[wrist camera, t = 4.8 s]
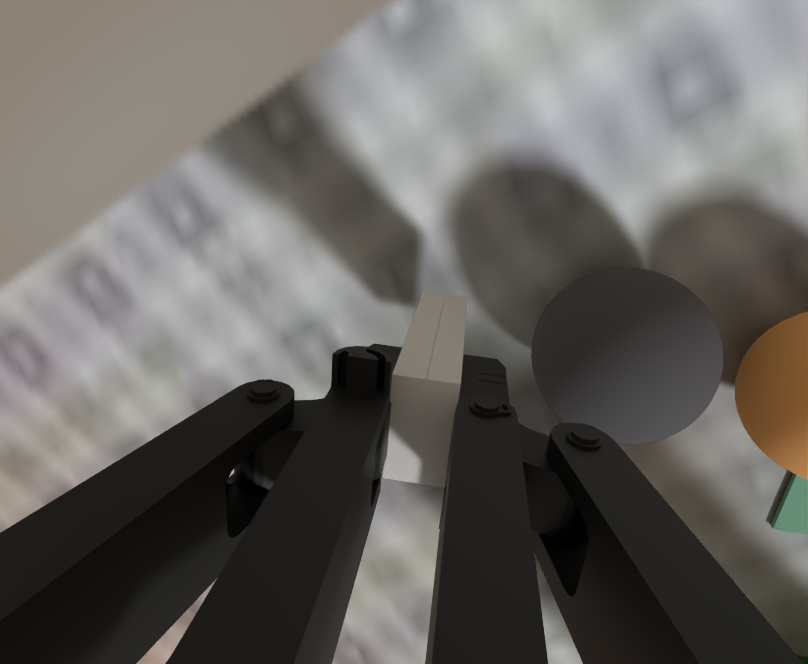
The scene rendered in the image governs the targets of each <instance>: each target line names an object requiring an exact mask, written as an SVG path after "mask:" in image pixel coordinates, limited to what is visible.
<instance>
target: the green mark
mask: <svg viewBox="0 0 808 664" xmlns="http://www.w3.org/2000/svg"><path fill="white" fill-rule="evenodd" d="M771 527H772V528H773V529H779V530H785V531H791V532H798V533H804V534H808V480H807V479H805V478H802V477H800V476H798V475H796V474H794V473H793V474H792V477H791V479H790V481H789V483H788V486H787V488H786V490H785V493H784V495H783V497H782V500H781V502H780V504H779V507H778V509H777V511H776V513H775V516H774V518H773V520H772V523H771Z"/></svg>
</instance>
